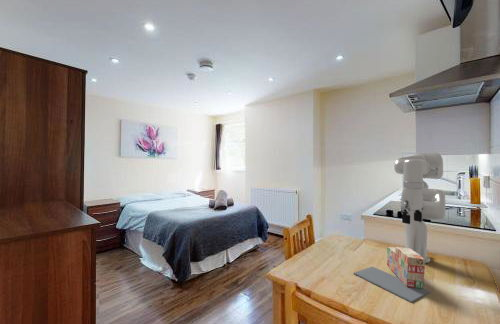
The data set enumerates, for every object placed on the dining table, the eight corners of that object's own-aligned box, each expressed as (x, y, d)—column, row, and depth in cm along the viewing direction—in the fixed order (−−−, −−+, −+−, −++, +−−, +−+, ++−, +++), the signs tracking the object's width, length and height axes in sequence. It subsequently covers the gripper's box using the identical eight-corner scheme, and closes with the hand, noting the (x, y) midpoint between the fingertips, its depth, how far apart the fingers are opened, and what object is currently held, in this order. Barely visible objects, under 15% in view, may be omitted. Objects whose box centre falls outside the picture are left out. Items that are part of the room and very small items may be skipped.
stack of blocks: (386, 265, 114) (387, 240, 114) (400, 267, 113) (401, 242, 113) (406, 286, 93) (408, 256, 93) (424, 289, 92) (425, 258, 92)
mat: (372, 267, 111) (372, 266, 111) (430, 292, 91) (430, 291, 91) (353, 274, 105) (353, 272, 105) (411, 302, 84) (411, 301, 84)
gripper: (414, 184, 114) (413, 218, 114) (393, 185, 106) (392, 222, 106) (431, 186, 108) (430, 222, 108) (411, 187, 100) (410, 226, 100)
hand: (412, 222), depth 107 cm, fingers open, 9 cm apart
